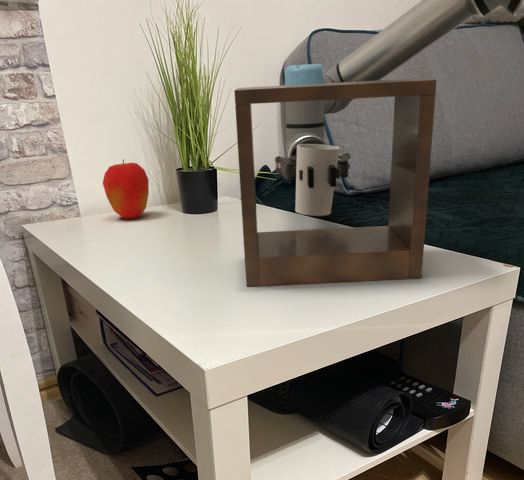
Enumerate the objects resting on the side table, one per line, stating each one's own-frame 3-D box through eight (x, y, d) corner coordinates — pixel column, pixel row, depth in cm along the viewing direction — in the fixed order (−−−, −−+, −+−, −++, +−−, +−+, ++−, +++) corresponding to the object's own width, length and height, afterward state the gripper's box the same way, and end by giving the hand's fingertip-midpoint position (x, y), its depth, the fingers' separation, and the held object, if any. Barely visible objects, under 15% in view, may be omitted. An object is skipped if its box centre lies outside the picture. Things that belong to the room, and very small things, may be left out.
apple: (146, 210, 128) (139, 154, 123) (158, 218, 121) (150, 158, 115) (105, 216, 125) (95, 158, 119) (113, 224, 117) (104, 163, 112)
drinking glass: (285, 208, 94) (289, 144, 90) (319, 206, 97) (325, 143, 93) (305, 217, 89) (310, 149, 84) (341, 215, 92) (348, 149, 87)
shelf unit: (398, 250, 91) (408, 79, 81) (421, 278, 79) (436, 79, 68) (247, 257, 91) (237, 87, 81) (246, 286, 79) (234, 90, 68)
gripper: (351, 176, 108) (374, 201, 87) (267, 180, 108) (270, 206, 87) (352, 134, 105) (376, 148, 84) (266, 138, 105) (268, 154, 84)
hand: (322, 177), depth 85 cm, fingers closed on drinking glass, 3 cm apart
